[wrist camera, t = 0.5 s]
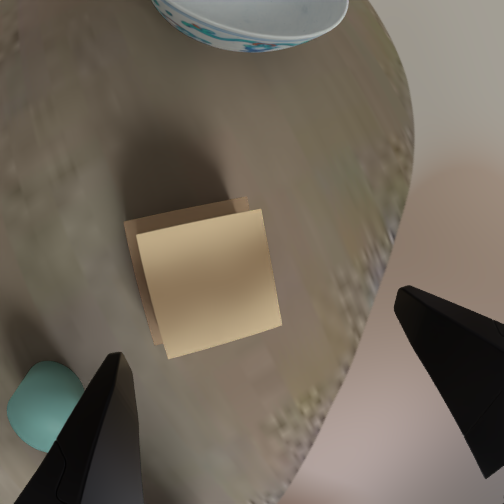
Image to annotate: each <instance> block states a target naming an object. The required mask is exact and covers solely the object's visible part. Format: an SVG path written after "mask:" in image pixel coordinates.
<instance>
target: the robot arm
mask: <svg viewBox="0 0 504 504" xmlns="http://www.w3.org/2000/svg"><path fill="white" fill-rule="evenodd" d="M394 312H395V314H396V316H397V318H398V320H399V322H400V324H401V326H402V328H403V330H404V332H405V334H406V336H407V338H408V340H409V342H410V344H411V346H412V347H413V349H414V351H415V353H416V354H417V356H418V357H419V359H420V361H421V362H422V364H423V366H424V367H425V369H426V370H427V372H428V374H429V375H430V377H431V379H432V381H433V382H434V384H435V386H436V387H437V389H438V390H439V392H440V394H441V396H442V398H443V399H444V401H445V403H446V405H447V406H448V408H449V410H450V412H451V414H452V415H453V417H454V419H455V421H456V423H457V425H458V426H459V428H460V430H461V432H462V434H463V435H464V438H465V440H466V442H467V444H468V446H469V448H470V450H471V452H472V453H473V456H474V458H475V460H476V462H477V464H478V466H479V468H480V470H481V472H482V474H483V476H484V478H485V479H487V478H488V477H490V476H491V475H492V474H494V473H495V472H496V471H497V470H499V469H500V468H501V467H503V466H504V324H502V323H500V322H498V321H495V320H492V319H490V318H488V317H486V316H483V315H481V314H478V313H476V312H474V311H471V310H469V309H466V308H464V307H462V306H459V305H457V304H455V303H452V302H450V301H447V300H445V299H442V298H440V297H437V296H435V295H433V294H430V293H427V292H425V291H423V290H420V289H418V288H415V287H412V286H410V285H408V286H404V287H401V288H399V290H398V292H397V296H396V300H395V304H394ZM14 504H144V499H143V489H142V477H141V463H140V446H139V422H138V413H137V406H136V398H135V390H134V381H133V374H132V371H131V368H130V366H129V364H128V362H127V360H126V358H125V356H124V355H123V353H122V352H115V353H110V354H108V355H107V357H106V358H105V360H104V361H103V363H102V364H101V366H100V368H99V369H98V371H97V372H96V374H95V375H94V377H93V379H92V380H91V382H90V383H89V385H88V386H87V388H86V390H85V391H84V393H83V394H82V396H81V398H80V399H79V401H78V403H77V404H76V406H75V408H74V409H73V411H72V412H71V414H70V416H69V417H68V419H67V421H66V423H65V424H64V426H63V428H62V429H61V431H60V433H59V434H58V436H57V438H56V440H55V441H54V443H53V445H52V446H51V448H50V450H49V452H48V453H47V455H46V457H45V458H44V460H43V462H42V463H41V465H40V466H39V468H38V469H37V471H36V472H35V474H34V475H33V477H32V478H31V479H30V481H29V482H28V484H27V485H26V487H25V488H24V490H23V491H22V492H21V494H20V495H19V497H18V498H17V500H16V501H15V502H14ZM503 504H504V503H503Z"/></svg>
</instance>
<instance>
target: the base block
mask: <svg viewBox="0 0 504 504" xmlns="http://www.w3.org/2000/svg"><path fill="white" fill-rule="evenodd" d="M245 211H250V210H249V205H248V199H247V197H242V198H236V199H230V200H225V201H220V202H214V203H209V204H204V205H199V206H194V207H189V208H184V209H179V210H174V211H169V212H165V213H160V214H155V215H151V216H146V217H142V218H137V219H133V220H129V221H124V227H125V232H126V237H127V242H128V246H129V251H130V255H131V260H132V264H133V268H134V273H135V277H136V281H137V285H138V289H139V292H140V296H141V300H142V304H143V307H144V311H145V315H146V318H147V322H148V325H149V329H150V332H151V335H152V339H153V342H154V345H159V344H163V340H162V337H161V333H160V330H159V326H158V323H157V319H156V316H155V312H154V308H153V304H152V301H151V297H150V293H149V289H148V285H147V281H146V277H145V273H144V269H143V264H142V260H141V255H140V251H139V246H138V242H137V237H136V235H137V234H139V233H144V232H148V231H153V230H157V229H162V228H166V227H171V226H175V225H180V224H185V223H190V222H194V221H199V220H204V219H209V218H214V217H219V216H224V215H229V214H234V213H239V212H245Z"/></svg>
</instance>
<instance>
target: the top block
mask: <svg viewBox="0 0 504 504" xmlns="http://www.w3.org/2000/svg"><path fill="white" fill-rule="evenodd" d="M136 237H137V242H138V246H139V251H140V255H141V260H142V264H143V269H144V273H145V277H146V281H147V285H148V289H149V293H150V297H151V301H152V304H153V308H154V312H155V316H156V319H157V323H158V326H159V330H160V333H161V337H162V340H163V343H164V347H165V350H166V353H167V356H168V359H171V358H174V357H178V356H182V355H186V354H189V353H193V352H197V351H200V350H204V349H207V348H211V347H214V346H218V345H221V344H224V343H228V342H231V341H234V340H238V339H241V338H244V337H247V336H250V335H254V334H257V333H260V332H263V331H266V330H269V329H272V328H275V327H278V326H281V325H282V321H281V315H280V310H279V304H278V298H277V293H276V287H275V281H274V276H273V270H272V265H271V259H270V254H269V248H268V243H267V238H266V232H265V227H264V221H263V216H262V211H261V209H257V210H251V211H245V212H239V213H234V214H229V215H224V216H219V217H214V218H209V219H204V220H199V221H194V222H190V223H185V224H180V225H175V226H171V227H166V228H162V229H157V230H153V231H148V232H144V233H139V234H137V235H136Z"/></svg>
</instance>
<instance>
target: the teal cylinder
mask: <svg viewBox="0 0 504 504" xmlns="http://www.w3.org/2000/svg"><path fill="white" fill-rule="evenodd" d="M83 393H84V388H83V386H82V383H81V381H80V380H79V378H78V377H77V376H76V375H75V374H74V373H73V372H72V371H71V370H70V369H69V368H67V367H66V366H64V365H62V364H60V363H57V362H53V361H42V362H39V363H37V364H35V365H34V366H33V367H32V368H31V369H30V370H29V372H28V373H27V375H26V376H25V378H24V379H23V381H22V382H21V383H20V385H19V386H18V388H17V389H16V391H15V392H14V394H13V396H12V397H11V399H10V400H9V402H8V406H7V415H8V419H9V422H10V424H11V426H12V428H13V429H14V431H15V432H16V434H17V435H18V436H19V437H20V438H21V439H22V440H23V441H24V442H26V443H27V444H28V445H30V446H32V447H33V448H35V449H38V450H40V451H43V452H47V453H48V452H49V450H50V448H51V446H52V445H53V443H54V441H55V440H56V438H57V436H58V434H59V433H60V431H61V429H62V428H63V426H64V424H65V423H66V421H67V419H68V417H69V416H70V414H71V412H72V411H73V409H74V408H75V406H76V404H77V403H78V401H79V399H80V398H81V396H82V394H83Z"/></svg>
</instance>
